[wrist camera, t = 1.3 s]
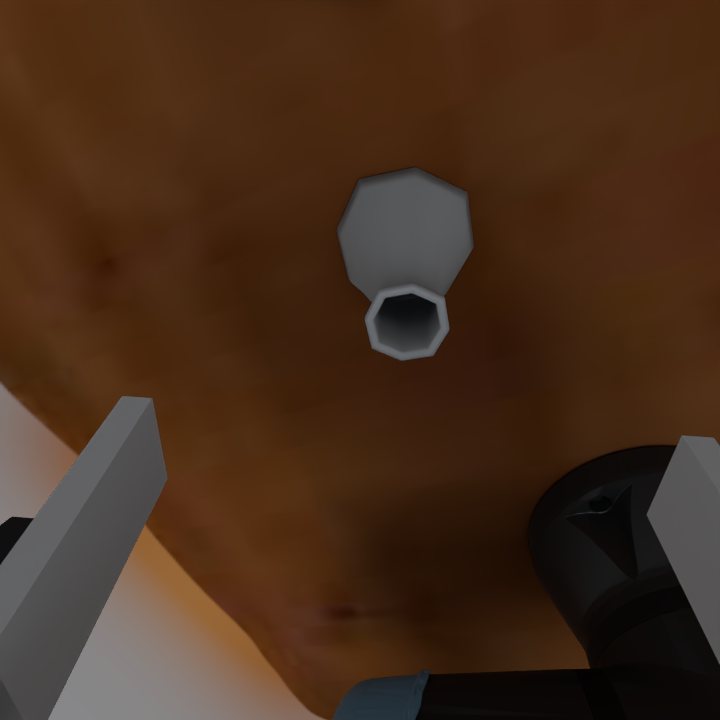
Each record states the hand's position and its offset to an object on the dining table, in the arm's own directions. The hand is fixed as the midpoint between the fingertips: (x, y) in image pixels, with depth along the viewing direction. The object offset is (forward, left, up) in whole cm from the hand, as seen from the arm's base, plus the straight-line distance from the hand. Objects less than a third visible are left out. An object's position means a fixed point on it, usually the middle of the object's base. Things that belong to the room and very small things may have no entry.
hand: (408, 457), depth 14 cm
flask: (0, 0, -18) cm, 18 cm away
